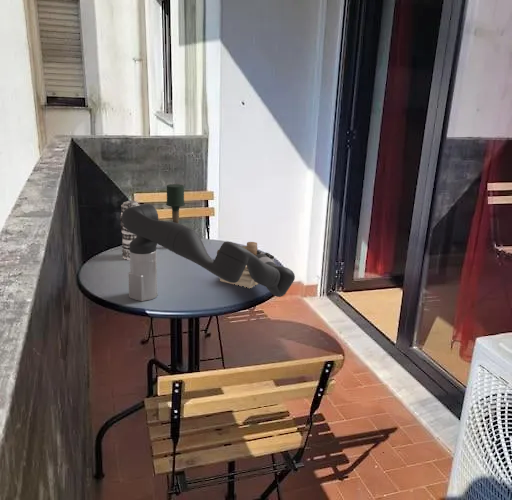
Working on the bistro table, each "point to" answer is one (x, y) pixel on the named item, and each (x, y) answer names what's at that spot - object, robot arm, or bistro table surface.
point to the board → (244, 280)
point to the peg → (252, 249)
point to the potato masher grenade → (175, 199)
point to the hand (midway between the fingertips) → (249, 253)
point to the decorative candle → (126, 234)
